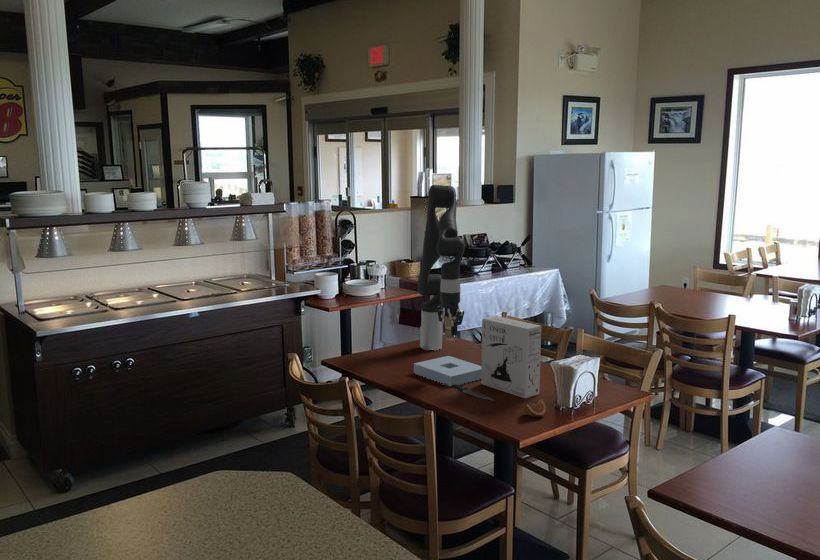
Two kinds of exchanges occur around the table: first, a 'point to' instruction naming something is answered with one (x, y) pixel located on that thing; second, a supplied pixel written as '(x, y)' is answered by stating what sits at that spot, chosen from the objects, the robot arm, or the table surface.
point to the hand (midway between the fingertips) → (450, 334)
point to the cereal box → (511, 356)
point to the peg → (448, 329)
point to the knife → (470, 391)
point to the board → (448, 370)
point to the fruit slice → (535, 408)
